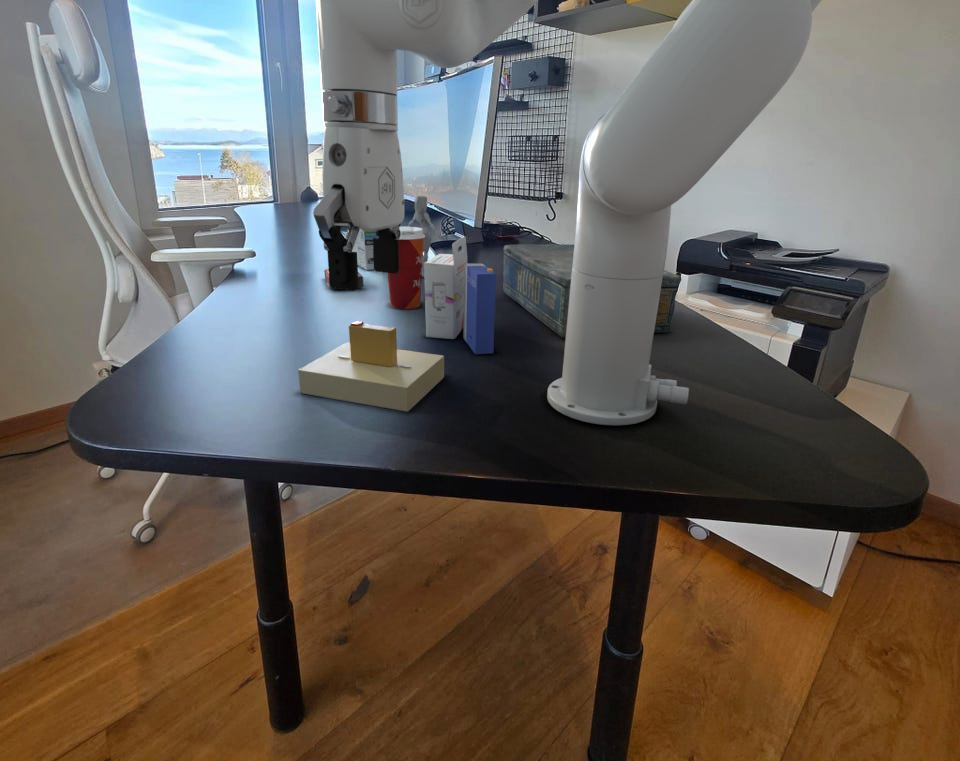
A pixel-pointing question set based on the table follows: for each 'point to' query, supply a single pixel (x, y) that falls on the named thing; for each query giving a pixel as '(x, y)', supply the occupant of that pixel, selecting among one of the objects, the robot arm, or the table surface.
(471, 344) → the walkman
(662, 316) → the metal box
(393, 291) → the paper cup
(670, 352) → the table surface
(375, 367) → the plate
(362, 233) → the light bulb box
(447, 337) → the ink cartridge box
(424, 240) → the human figurine
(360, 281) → the brown red carton
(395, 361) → the block
